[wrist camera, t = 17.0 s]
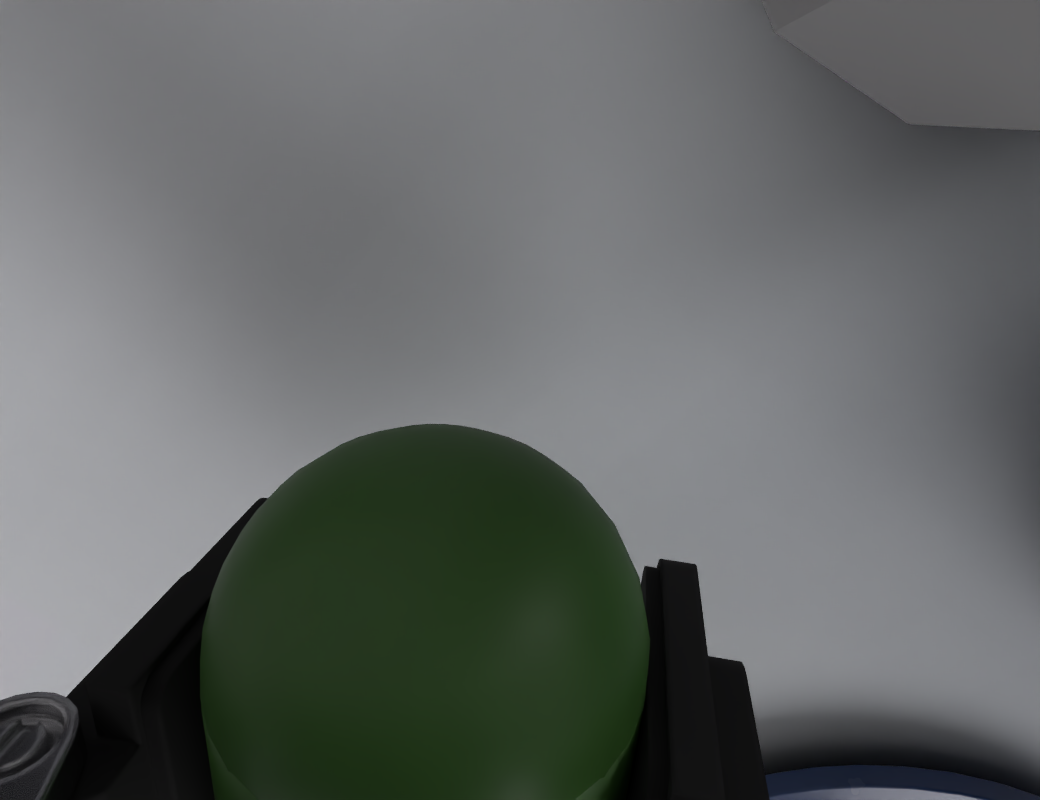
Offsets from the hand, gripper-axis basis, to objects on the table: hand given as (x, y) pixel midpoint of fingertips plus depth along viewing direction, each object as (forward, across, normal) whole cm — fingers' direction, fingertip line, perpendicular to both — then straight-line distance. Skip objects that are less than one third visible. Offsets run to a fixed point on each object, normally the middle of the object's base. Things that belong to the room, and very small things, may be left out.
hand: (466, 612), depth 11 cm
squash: (0, 0, 0) cm, 0 cm away
